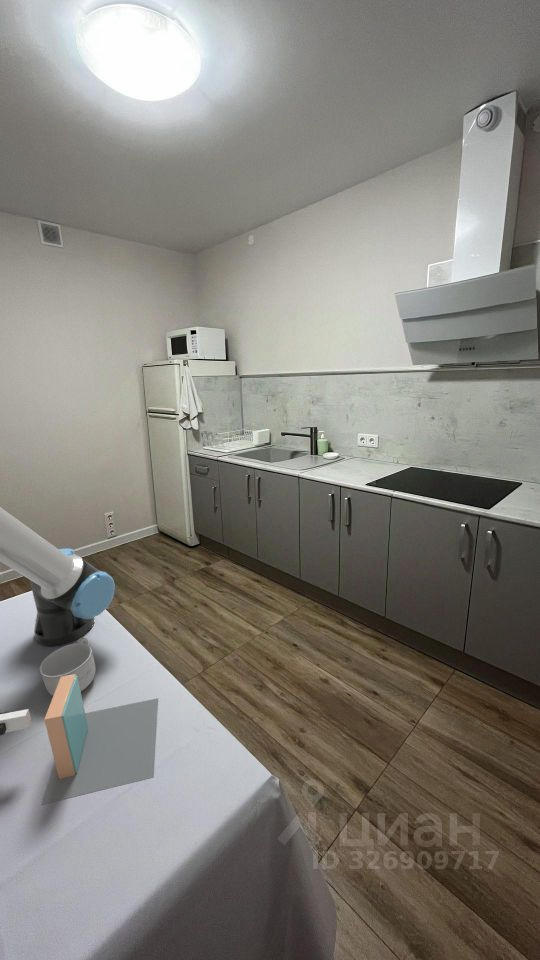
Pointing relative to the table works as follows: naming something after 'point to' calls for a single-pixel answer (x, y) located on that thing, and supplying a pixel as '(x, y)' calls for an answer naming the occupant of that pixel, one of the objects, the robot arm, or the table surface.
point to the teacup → (69, 665)
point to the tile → (67, 726)
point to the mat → (111, 751)
